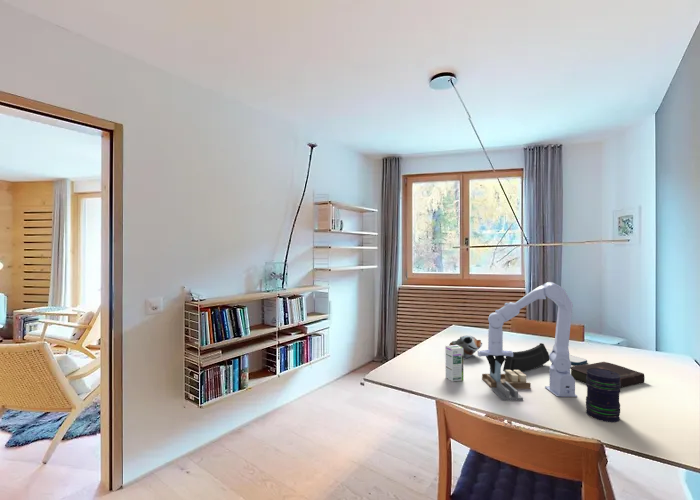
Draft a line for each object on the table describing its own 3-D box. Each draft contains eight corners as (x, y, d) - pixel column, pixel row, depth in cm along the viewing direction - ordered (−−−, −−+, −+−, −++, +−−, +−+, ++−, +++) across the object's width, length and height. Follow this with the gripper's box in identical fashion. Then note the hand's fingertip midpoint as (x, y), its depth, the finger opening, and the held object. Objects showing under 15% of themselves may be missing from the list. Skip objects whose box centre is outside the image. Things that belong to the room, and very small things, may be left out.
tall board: (500, 383, 152) (500, 363, 152) (497, 382, 152) (497, 363, 152) (493, 376, 160) (493, 357, 160) (489, 376, 160) (490, 357, 160)
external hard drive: (532, 354, 200) (532, 350, 200) (545, 351, 206) (546, 348, 206) (576, 367, 180) (576, 363, 180) (589, 363, 185) (590, 359, 185)
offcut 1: (517, 385, 152) (518, 375, 152) (512, 384, 152) (512, 375, 152) (510, 378, 159) (510, 369, 159) (505, 378, 160) (505, 369, 159)
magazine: (505, 356, 165) (544, 330, 178) (499, 354, 167) (538, 329, 181) (512, 390, 167) (550, 362, 181) (506, 388, 170) (544, 360, 184)
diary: (645, 384, 158) (645, 373, 158) (608, 393, 148) (609, 381, 148) (600, 370, 175) (601, 360, 175) (565, 377, 165) (566, 366, 165)
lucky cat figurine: (469, 350, 205) (480, 331, 200) (476, 365, 194) (489, 345, 189) (445, 344, 202) (456, 324, 197) (451, 358, 191) (463, 338, 186)
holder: (523, 400, 139) (523, 391, 139) (501, 400, 139) (502, 391, 139) (511, 390, 149) (511, 381, 149) (491, 389, 149) (491, 381, 149)
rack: (530, 388, 150) (530, 383, 150) (491, 388, 151) (491, 382, 151) (518, 379, 161) (518, 373, 161) (482, 378, 162) (482, 373, 162)
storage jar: (594, 421, 123) (594, 377, 123) (580, 408, 133) (580, 367, 132) (626, 423, 121) (627, 378, 121) (610, 410, 131) (611, 369, 131)
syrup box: (452, 382, 157) (452, 348, 157) (444, 377, 163) (445, 344, 163) (463, 380, 159) (464, 347, 159) (456, 376, 165) (456, 344, 165)
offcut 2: (526, 385, 152) (526, 375, 152) (520, 385, 152) (520, 375, 152) (518, 379, 159) (518, 369, 159) (513, 378, 159) (513, 369, 159)
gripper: (508, 338, 160) (508, 369, 160) (475, 338, 160) (475, 369, 160) (515, 343, 153) (515, 375, 153) (480, 343, 153) (480, 375, 153)
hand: (495, 372), depth 156 cm, fingers closed on tall board, 1 cm apart
